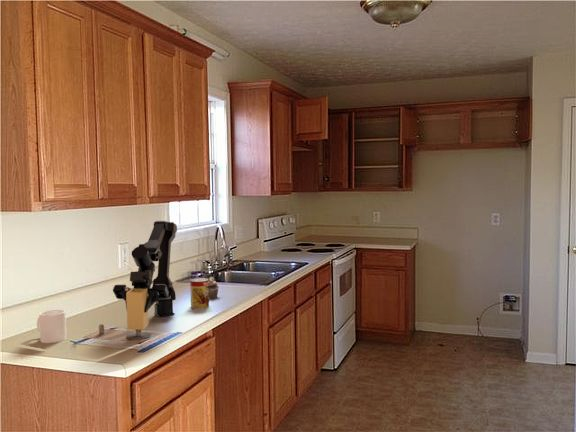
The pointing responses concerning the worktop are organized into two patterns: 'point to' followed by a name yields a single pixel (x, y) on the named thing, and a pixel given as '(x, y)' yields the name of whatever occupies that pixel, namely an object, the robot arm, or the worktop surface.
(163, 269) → the robot arm
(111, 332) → the board
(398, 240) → the worktop surface
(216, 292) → the cupcake
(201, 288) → the canned food
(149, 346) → the worktop surface
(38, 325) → the mug
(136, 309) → the sleeve
